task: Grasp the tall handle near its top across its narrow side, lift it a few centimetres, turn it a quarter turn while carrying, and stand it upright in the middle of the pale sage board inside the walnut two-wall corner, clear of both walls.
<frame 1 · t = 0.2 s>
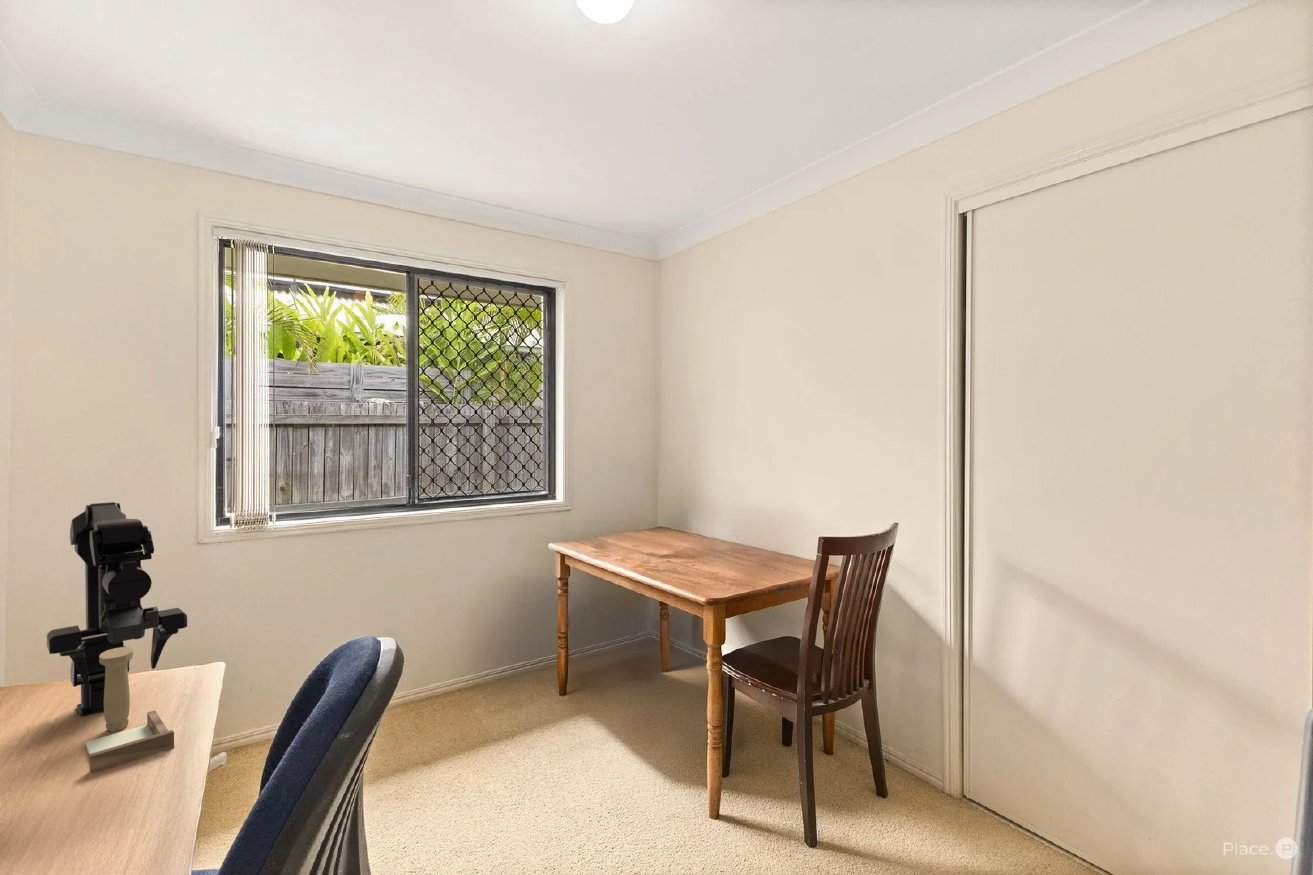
hand: (120, 675, 112), 14 cm above the table, fingers open, 9 cm apart
pad: (122, 747, 114), on the table
handle: (117, 729, 121), on the table
walls: (122, 747, 114), resting in pad
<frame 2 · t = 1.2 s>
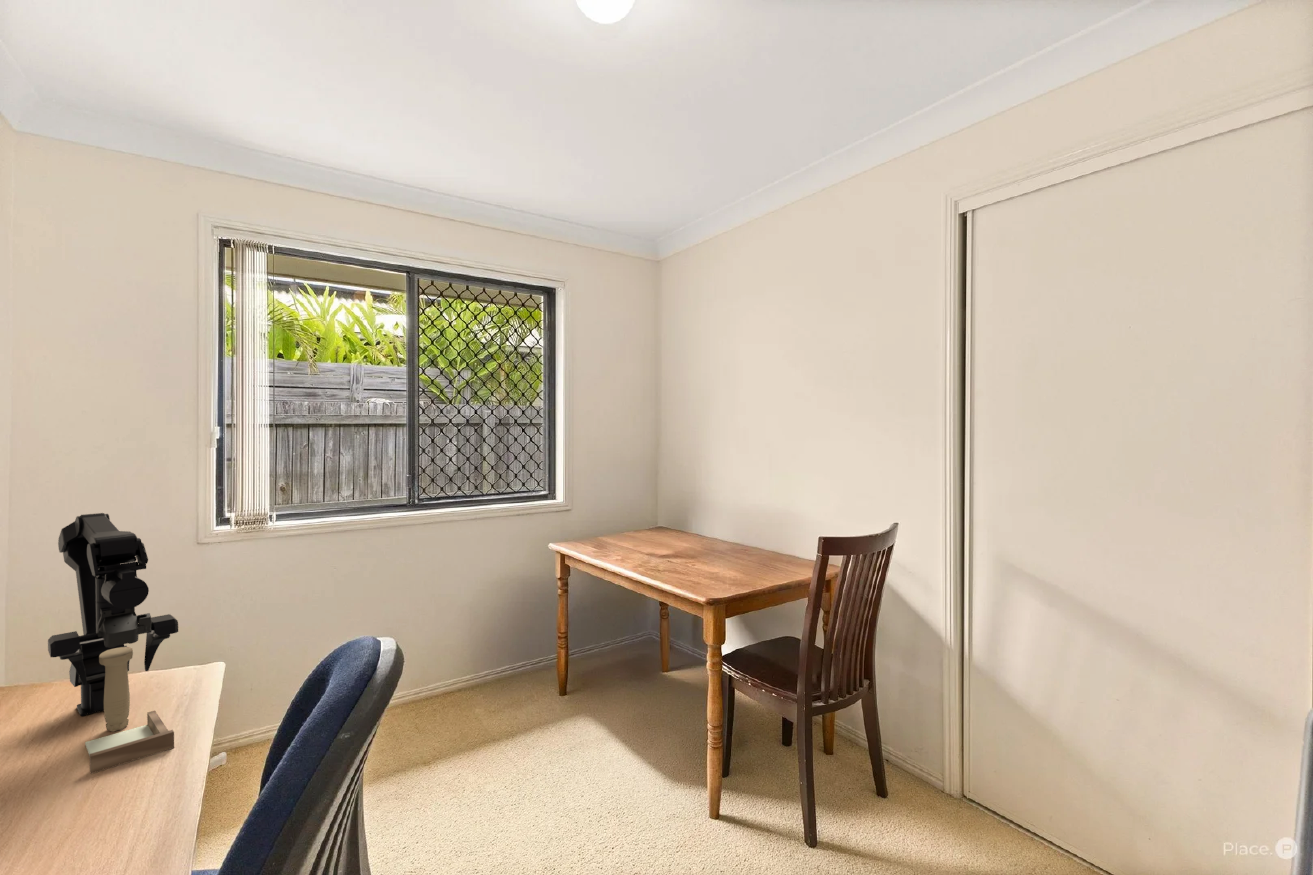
hand: (116, 677, 120), 10 cm above the table, fingers open, 9 cm apart
nothing on the table moved.
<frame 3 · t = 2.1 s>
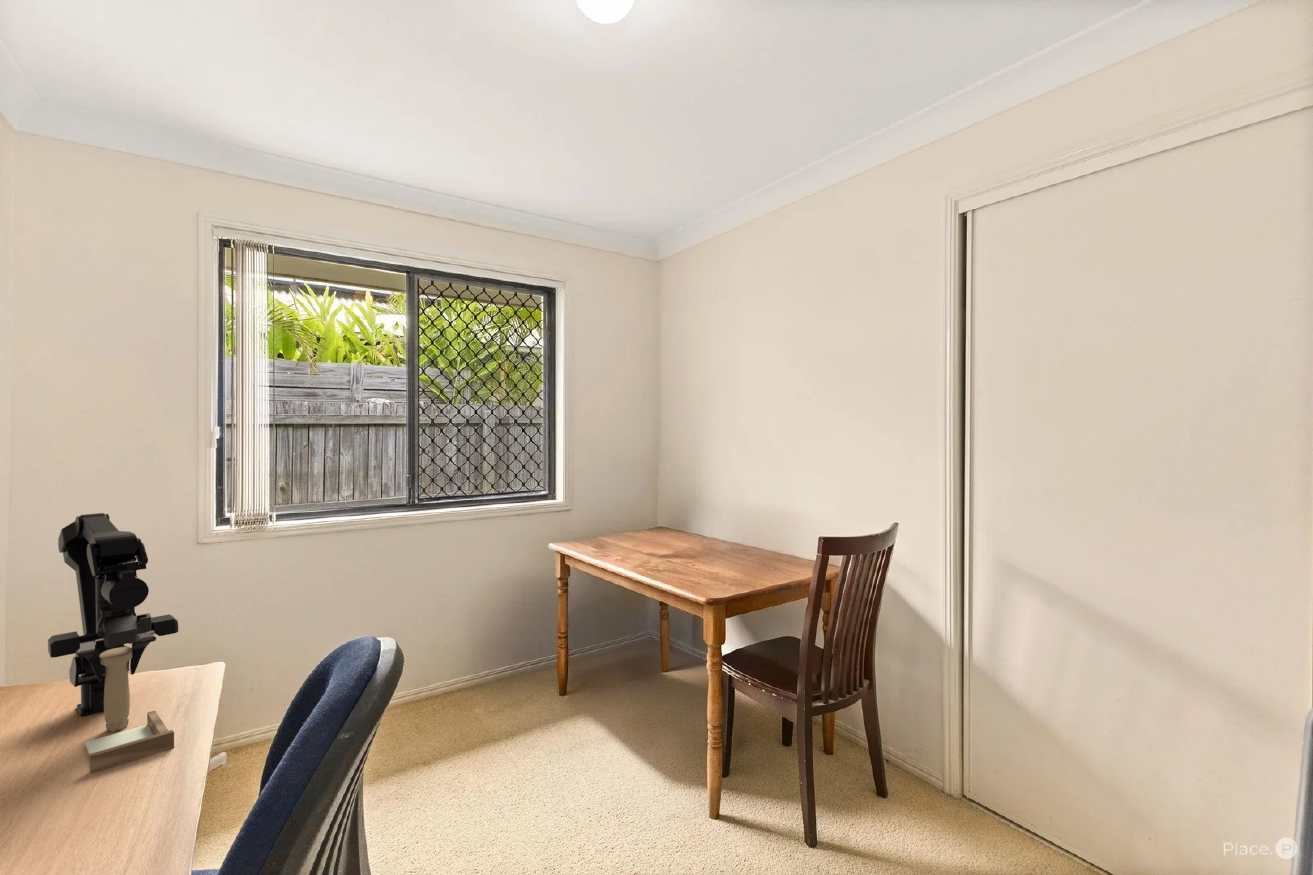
hand: (116, 677, 120), 10 cm above the table, fingers closed on handle, 4 cm apart
handle: (117, 729, 121), on the table, touching gripper
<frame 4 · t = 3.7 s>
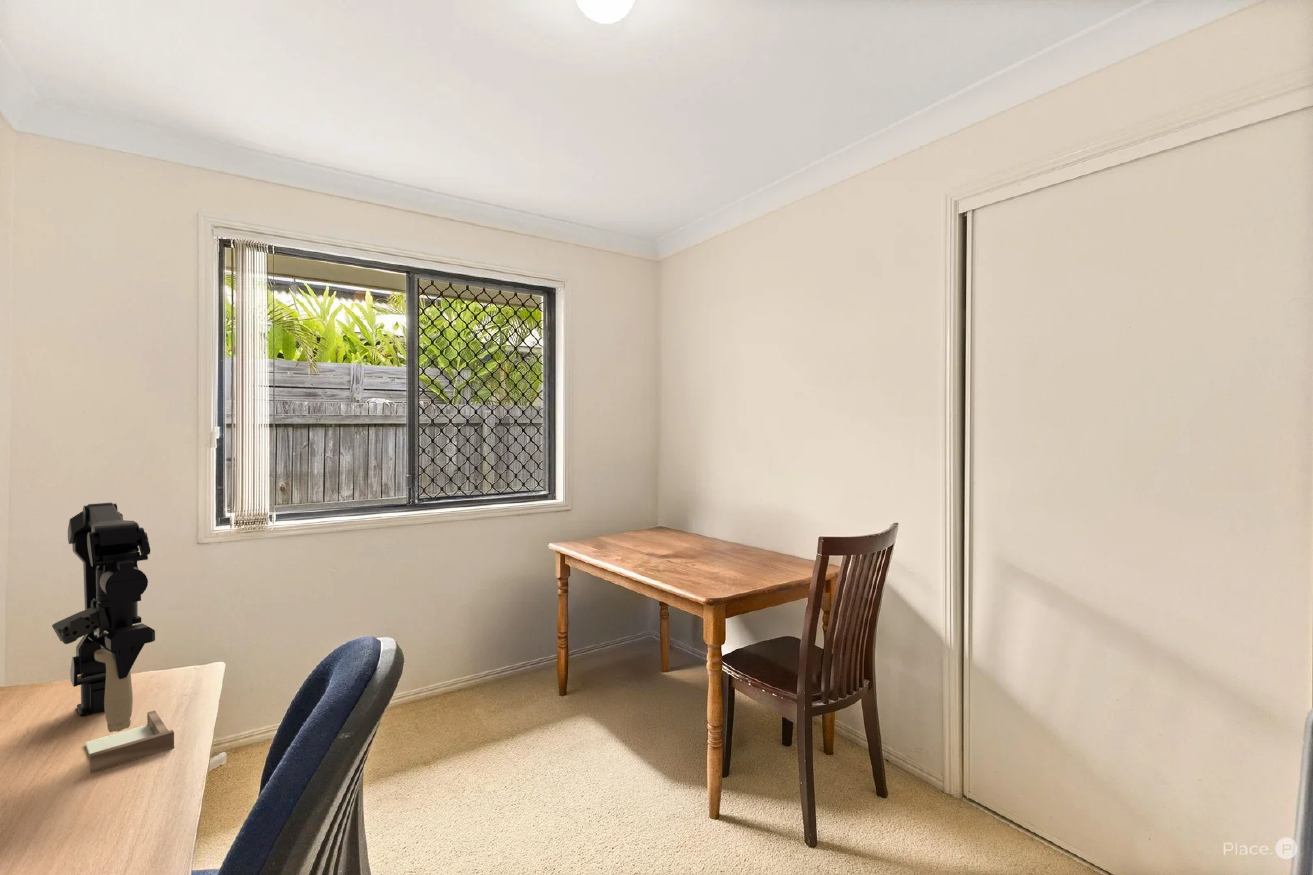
hand: (118, 675, 114), 13 cm above the table, fingers closed on handle, 4 cm apart
handle: (119, 729, 114), point 3 cm above the table, touching gripper
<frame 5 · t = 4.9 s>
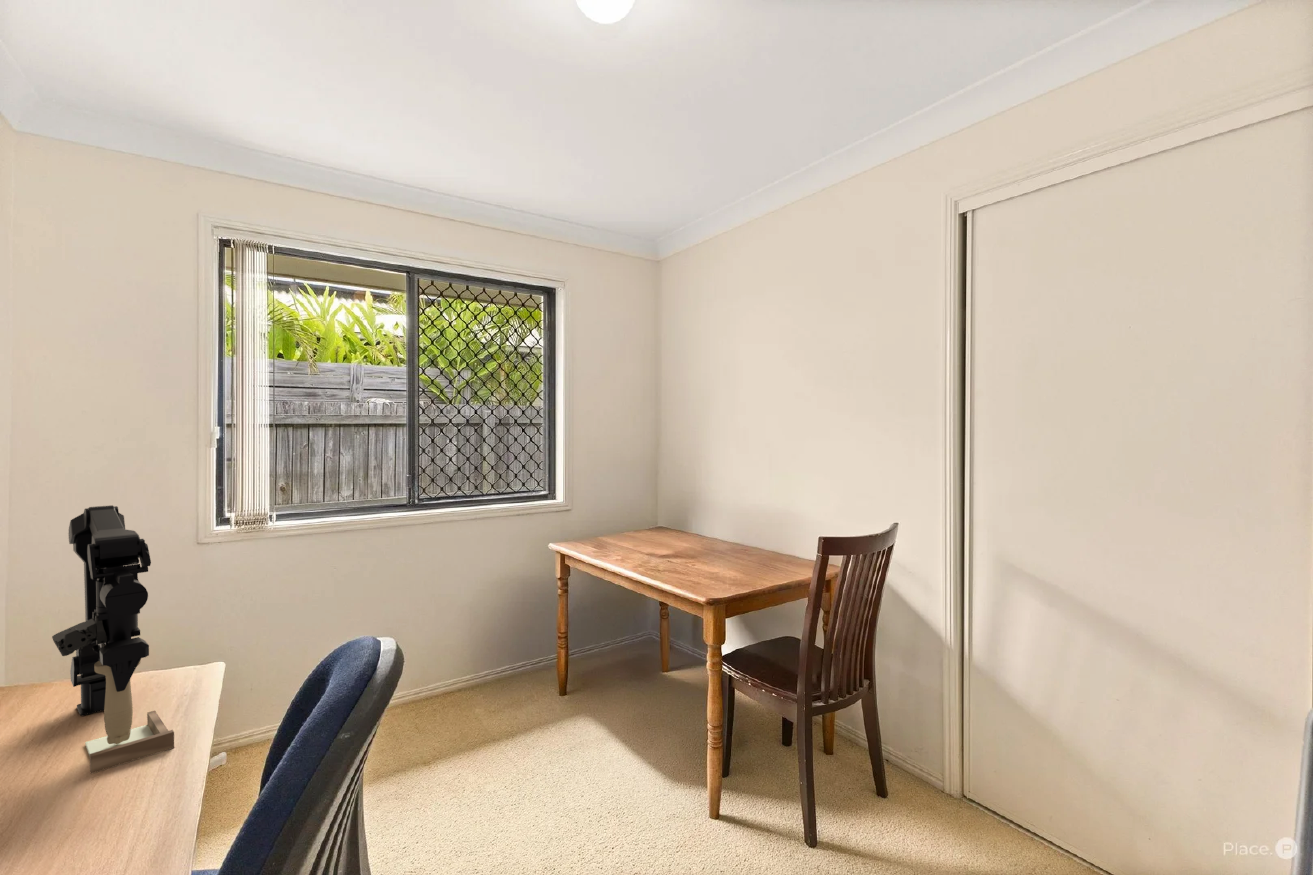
hand: (118, 687, 113), 11 cm above the table, fingers closed on handle, 4 cm apart
handle: (118, 741, 113), point 1 cm above the table, touching gripper
when the fingers open (11 cm above the table, at t = 5.1 s): handle stays where it is, resting on pad.
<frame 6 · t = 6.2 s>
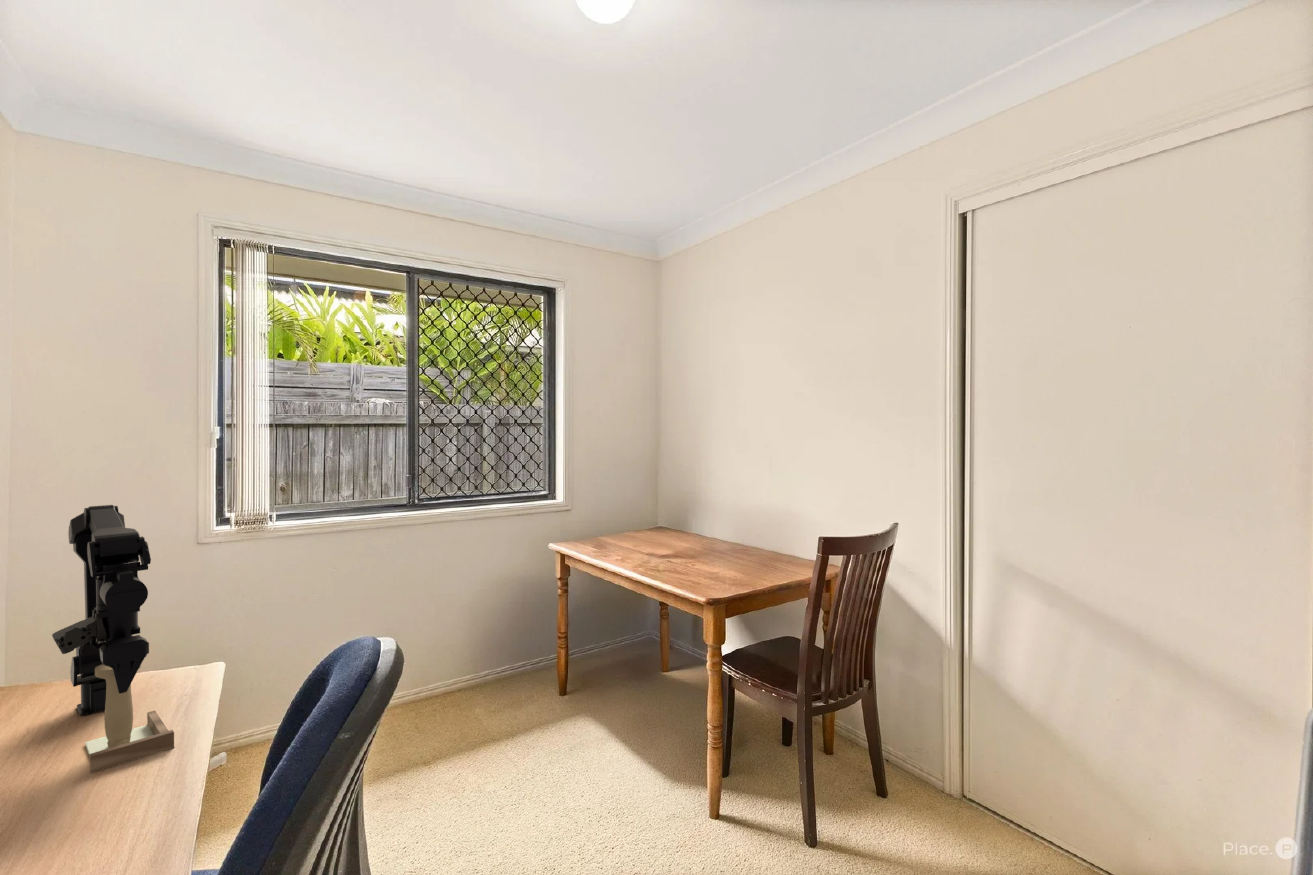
hand: (118, 685, 113), 12 cm above the table, fingers open, 9 cm apart
handle: (119, 745, 113), resting on pad
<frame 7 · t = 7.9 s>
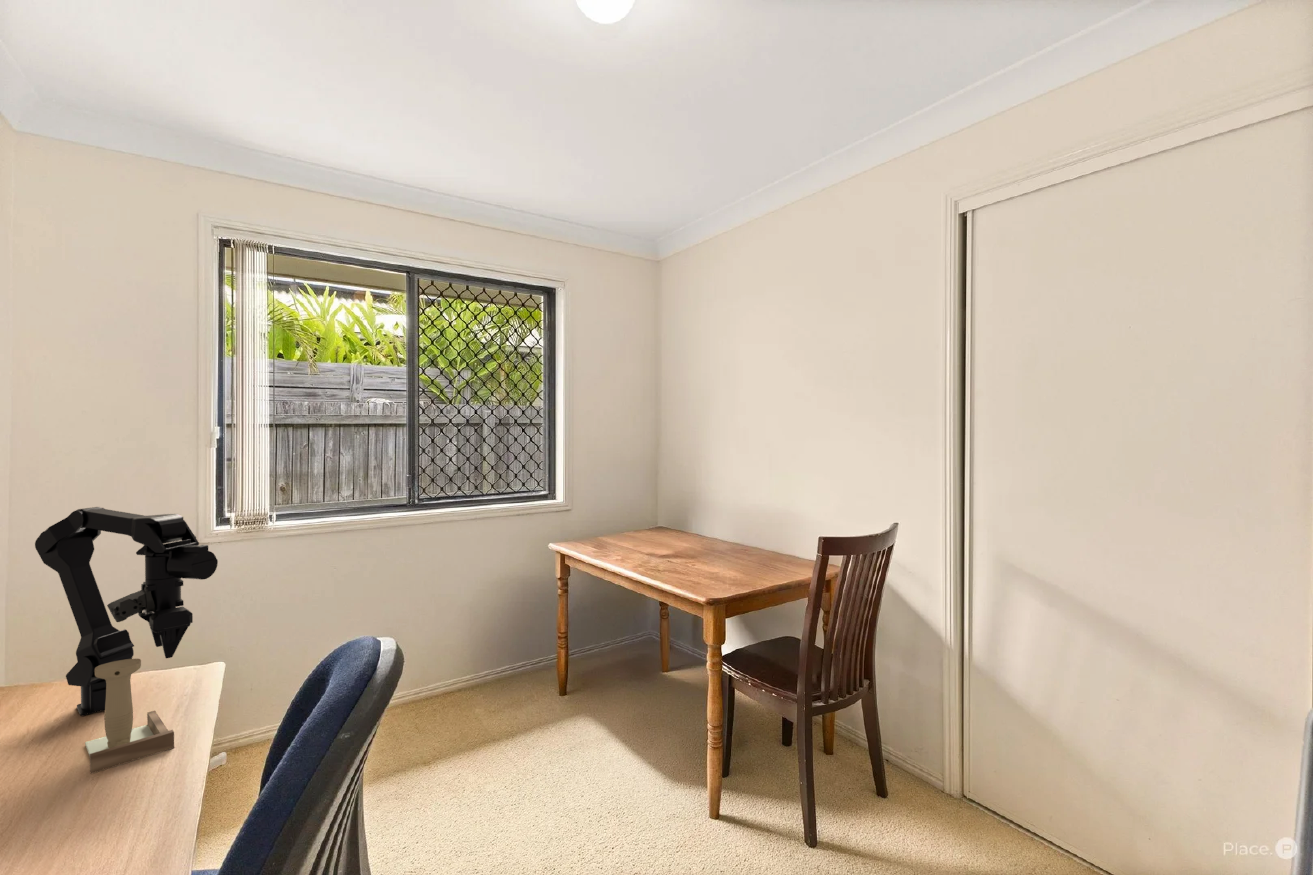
hand: (164, 651, 126), 13 cm above the table, fingers open, 9 cm apart
nothing on the table moved.
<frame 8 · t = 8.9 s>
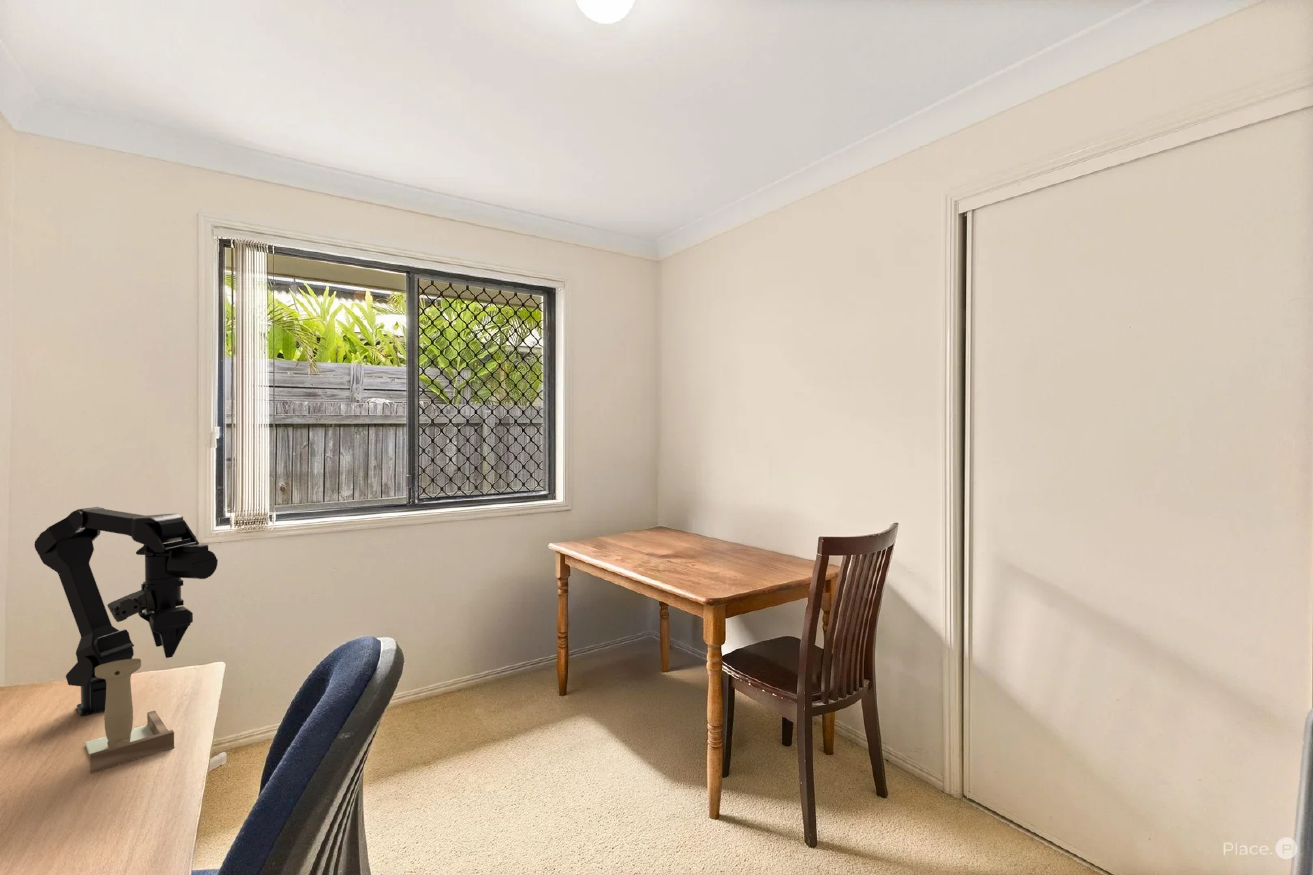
hand: (164, 651, 126), 13 cm above the table, fingers open, 9 cm apart
nothing on the table moved.
at the end: handle inside the target area on the pad (0.0 cm from its centre), point 0.4 cm above the pad's base; handle tilted 0°; handle touching pad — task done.
